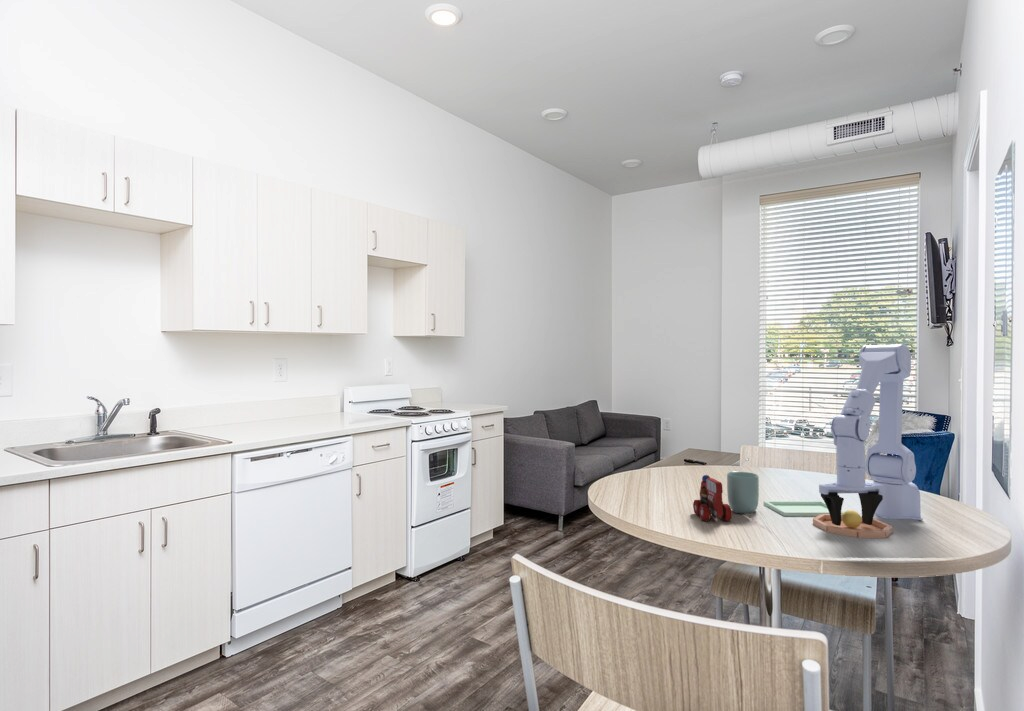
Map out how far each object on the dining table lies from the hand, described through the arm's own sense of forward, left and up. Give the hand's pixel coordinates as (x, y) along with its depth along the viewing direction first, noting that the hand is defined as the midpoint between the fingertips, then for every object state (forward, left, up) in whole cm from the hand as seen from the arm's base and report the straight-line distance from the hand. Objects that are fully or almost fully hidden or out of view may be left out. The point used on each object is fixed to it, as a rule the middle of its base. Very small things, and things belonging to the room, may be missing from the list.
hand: (851, 524), depth 130 cm
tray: (+3, -16, -1) cm, 16 cm away
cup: (+19, -16, -2) cm, 25 cm away
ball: (0, 0, -1) cm, 1 cm away
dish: (0, 0, -1) cm, 1 cm away
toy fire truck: (+29, -11, -2) cm, 31 cm away
